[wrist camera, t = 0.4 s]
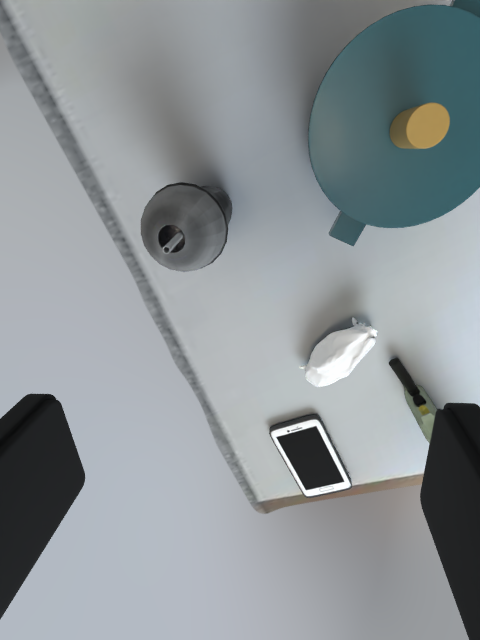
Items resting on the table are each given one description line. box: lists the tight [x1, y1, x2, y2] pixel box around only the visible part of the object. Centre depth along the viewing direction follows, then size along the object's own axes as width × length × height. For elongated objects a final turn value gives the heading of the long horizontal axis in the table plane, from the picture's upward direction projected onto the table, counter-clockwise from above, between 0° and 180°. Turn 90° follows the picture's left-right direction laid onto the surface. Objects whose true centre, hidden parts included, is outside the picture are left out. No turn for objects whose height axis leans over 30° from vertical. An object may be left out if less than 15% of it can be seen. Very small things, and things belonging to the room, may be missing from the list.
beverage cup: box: [141, 182, 232, 272], centre depth 32 cm, size 7×7×20 cm
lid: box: [308, 5, 480, 228], centre depth 26 cm, size 15×15×6 cm
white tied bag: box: [299, 317, 378, 387], centre depth 44 cm, size 5×7×10 cm
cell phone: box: [269, 415, 352, 498], centre depth 54 cm, size 8×15×1 cm, turn 26°
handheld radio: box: [389, 358, 437, 443], centre depth 46 cm, size 7×3×25 cm
